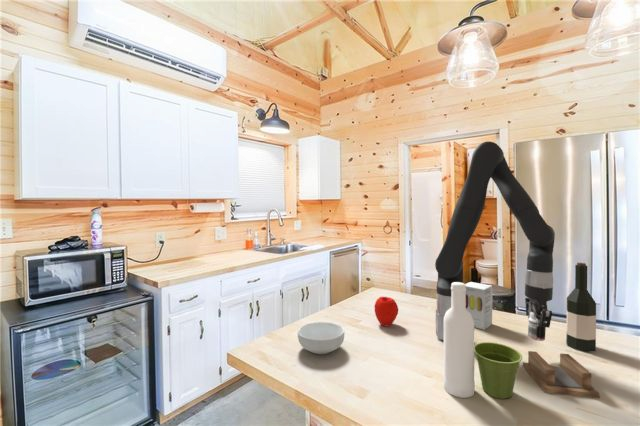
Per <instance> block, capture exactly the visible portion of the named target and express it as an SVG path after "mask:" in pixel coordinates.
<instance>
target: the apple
mask: <svg viewBox="0 0 640 426" xmlns="http://www.w3.org/2000/svg"><path fill="white" fill-rule="evenodd" d="M374 313H375V316H376V319H377V321H378V322H379V324H380V325H381V326H384V327H390V326H391V325H392V324H393V323H394V322H395V320H396V319H397V317H398V314H399V306H398V304H397V302H396V300H395V299H394V298H391V297H387V296H379V297H378V298H377V299H376V301H375V303H374Z"/></svg>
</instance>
